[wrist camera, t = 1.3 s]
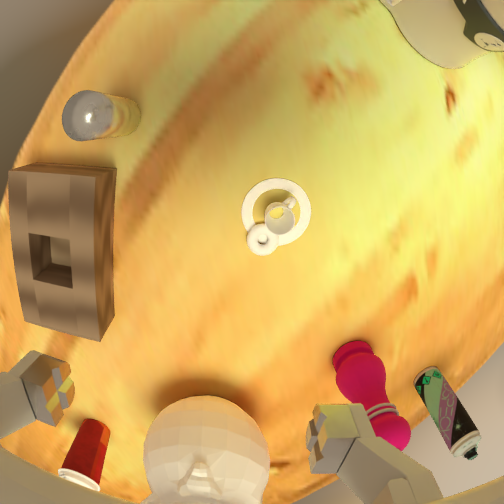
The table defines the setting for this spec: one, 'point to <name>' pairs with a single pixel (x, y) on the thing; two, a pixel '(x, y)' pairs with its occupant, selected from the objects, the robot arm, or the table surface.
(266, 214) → the teacup and saucer
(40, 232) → the socket block
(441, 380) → the spray can
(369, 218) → the table surface
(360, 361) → the pepper mill
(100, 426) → the coffee cup
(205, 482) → the pitcher
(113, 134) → the pin
